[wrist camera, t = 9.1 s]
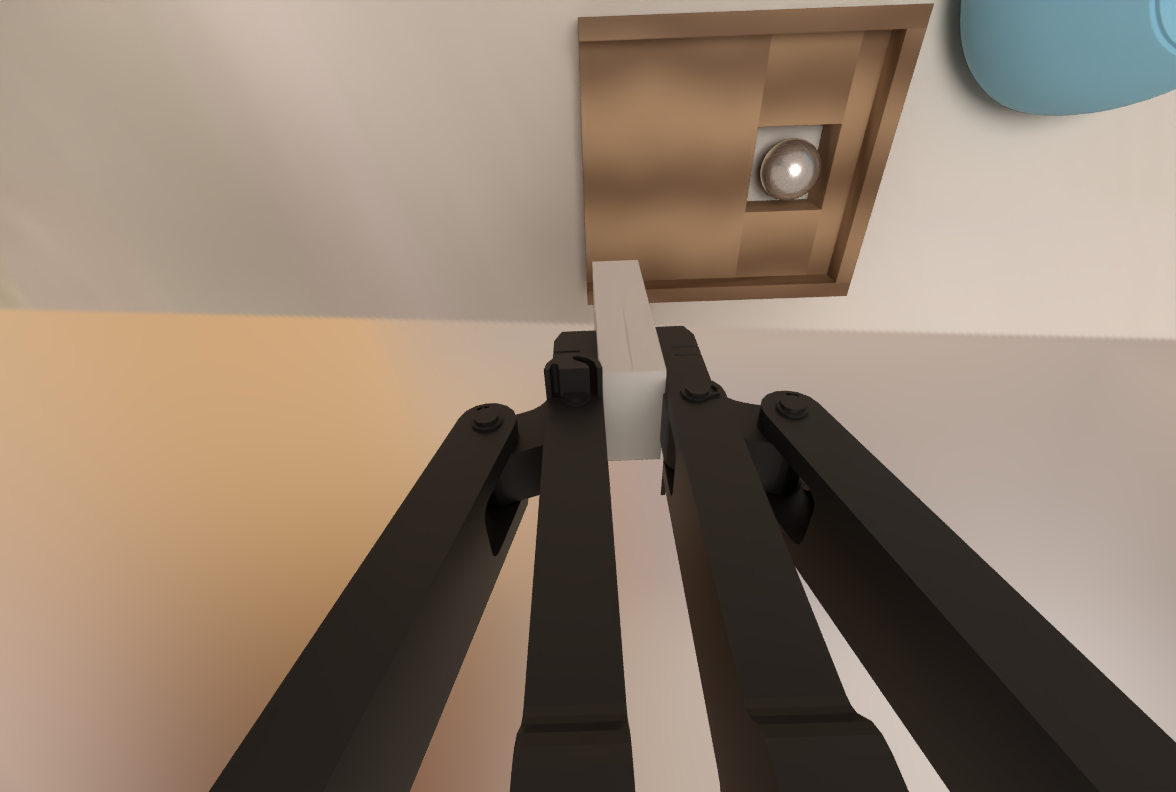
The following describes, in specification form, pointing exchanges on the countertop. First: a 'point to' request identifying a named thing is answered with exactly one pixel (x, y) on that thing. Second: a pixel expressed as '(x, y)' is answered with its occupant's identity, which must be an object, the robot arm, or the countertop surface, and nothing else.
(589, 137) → the tray
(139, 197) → the countertop surface
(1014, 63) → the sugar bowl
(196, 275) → the countertop surface
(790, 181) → the ball
